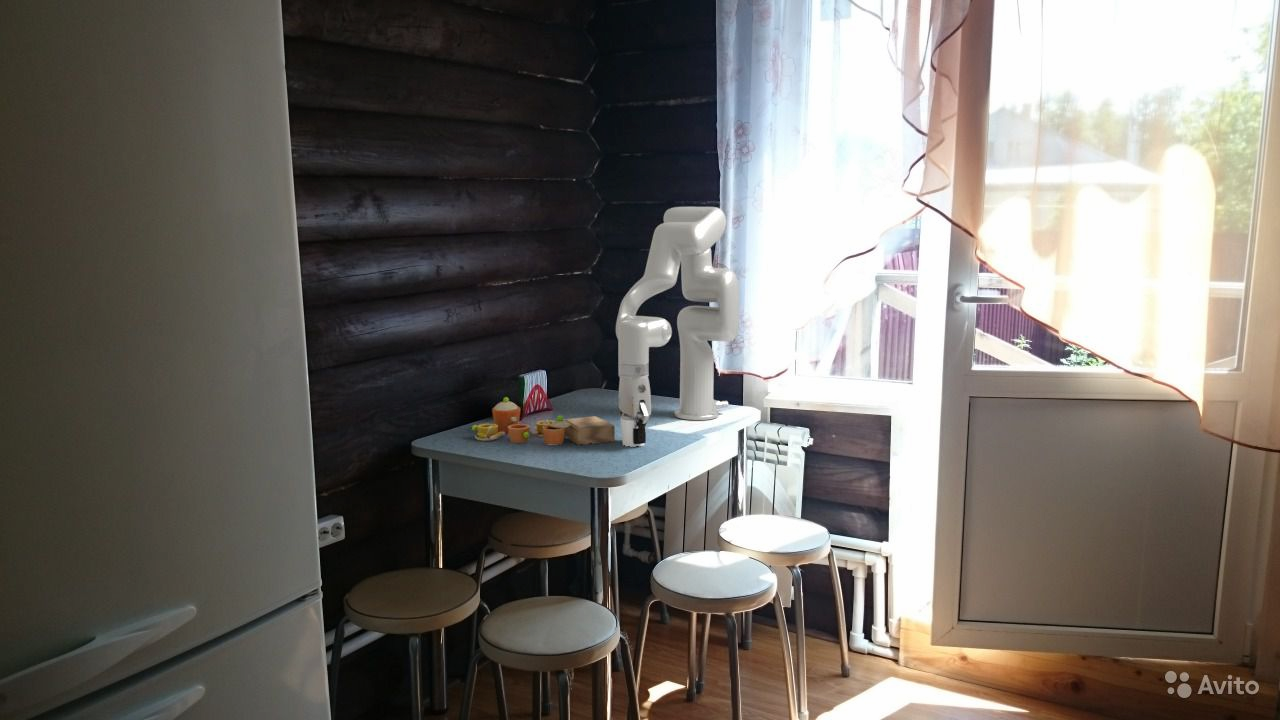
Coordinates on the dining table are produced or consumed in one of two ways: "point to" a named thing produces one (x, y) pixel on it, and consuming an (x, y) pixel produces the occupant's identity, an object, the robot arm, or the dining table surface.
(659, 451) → the dining table surface
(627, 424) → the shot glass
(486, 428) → the toy tea set
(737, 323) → the robot arm
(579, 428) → the riser
